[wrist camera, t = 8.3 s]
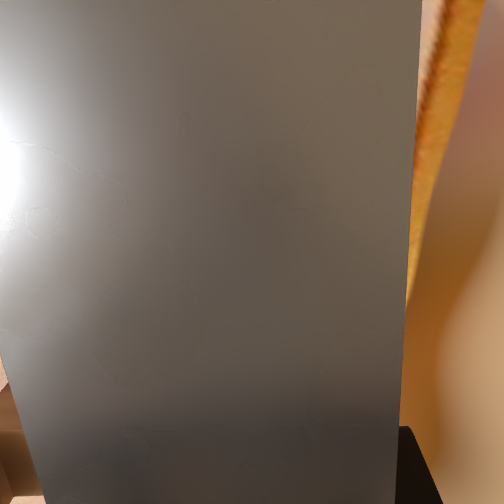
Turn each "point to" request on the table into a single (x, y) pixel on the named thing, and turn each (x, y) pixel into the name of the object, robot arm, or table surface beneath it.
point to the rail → (207, 245)
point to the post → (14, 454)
